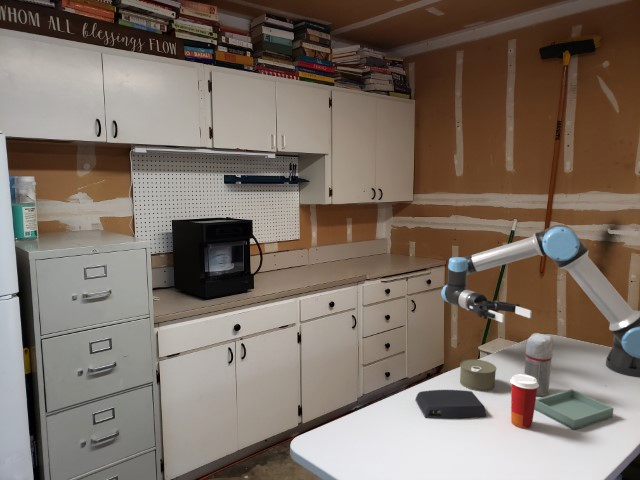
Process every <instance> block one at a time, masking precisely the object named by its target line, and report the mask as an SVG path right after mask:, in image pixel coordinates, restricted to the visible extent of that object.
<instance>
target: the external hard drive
mask: <svg viewBox="0 0 640 480" xmlns="http://www.w3.org/2000/svg"><path fill="white" fill-rule="evenodd" d="M414 401H415V403H416V405H417V406H418V408H419V410H420V412H421V413H422V416H423V417H424V419H425V418H426V419H435V420H437V419H439V420H456V419H457V420H460V419H461V420H462V419H464V420H465V419H469V420H470V419H482V418H483V419H484V418H488V414H487V409H486V407H485V405H484V404H483V403H482V402H481V401H480V399H479V398H478V397H477V396H476V395H475V393H473V390H464V389H463V390H461V389H459V390H458V389H431V390H430V389H429V390H421V391H419V392H418V393H417V394H416V396H415V399H414Z"/></svg>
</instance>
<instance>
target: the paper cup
mask: <svg viewBox="0 0 640 480" xmlns="http://www.w3.org/2000/svg"><path fill="white" fill-rule="evenodd" d="M510 378H511V379H510V380H509V382H510V383H511V385H510V386H511V387H510V388H511V393H510V395H511V396H510V397H511V400H510V403H511V404H510V415H511V416H510V419H511V420H510V422H511V424H512V425H513V426H514V427H517V428H519V429H525V430H526V429H531V428H532V426H533V420H534V415H535V410H534V408H535V401H536V399H537V396H536V395H537V388H538V387H539V384H538V382H537V380H536V378H534V377H532V376H529V375H524V373H523V374H522V373H518V374H517V373H516V374H514V375H513V376H512V377H510Z"/></svg>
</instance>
